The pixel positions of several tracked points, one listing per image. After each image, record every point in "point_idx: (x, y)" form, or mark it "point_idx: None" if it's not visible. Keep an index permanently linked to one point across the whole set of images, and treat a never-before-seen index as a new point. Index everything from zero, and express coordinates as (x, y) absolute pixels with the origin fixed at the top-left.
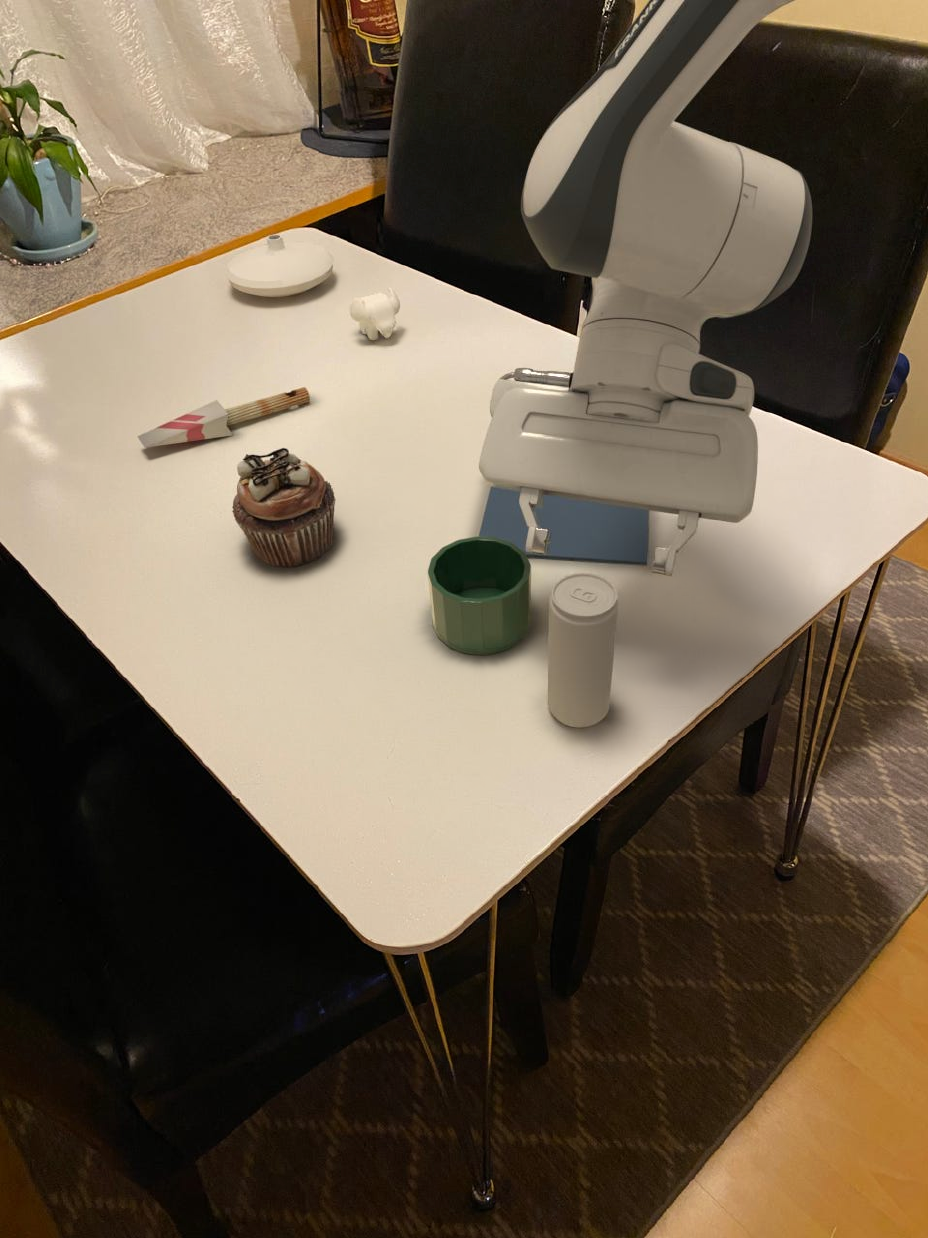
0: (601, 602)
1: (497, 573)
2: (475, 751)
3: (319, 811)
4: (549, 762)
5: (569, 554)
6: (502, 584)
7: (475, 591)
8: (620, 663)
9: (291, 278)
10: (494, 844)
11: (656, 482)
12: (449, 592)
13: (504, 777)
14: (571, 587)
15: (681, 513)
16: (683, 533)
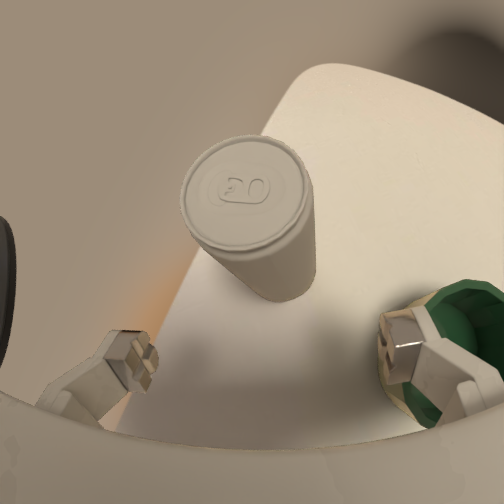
0: (206, 184)
1: (441, 412)
2: (355, 182)
3: (421, 105)
4: None
5: None
6: (429, 409)
7: None
8: (255, 352)
9: None
10: (297, 119)
11: (62, 468)
12: (484, 289)
13: (318, 168)
14: (273, 199)
15: (56, 411)
16: (69, 379)
